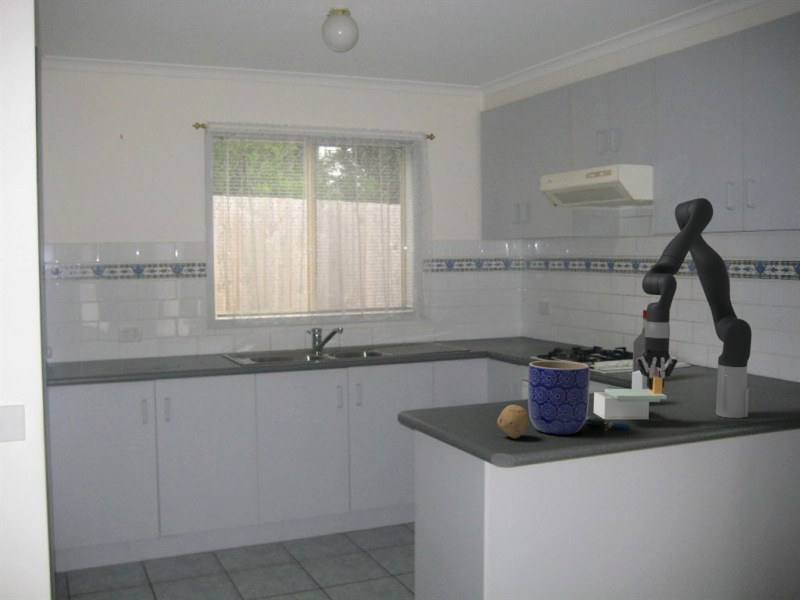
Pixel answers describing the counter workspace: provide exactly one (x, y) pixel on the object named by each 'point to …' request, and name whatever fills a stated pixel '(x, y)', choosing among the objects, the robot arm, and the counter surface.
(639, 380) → the skincare box
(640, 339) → the liquor
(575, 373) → the planter
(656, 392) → the lid
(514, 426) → the potato
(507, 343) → the counter surface
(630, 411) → the tub
